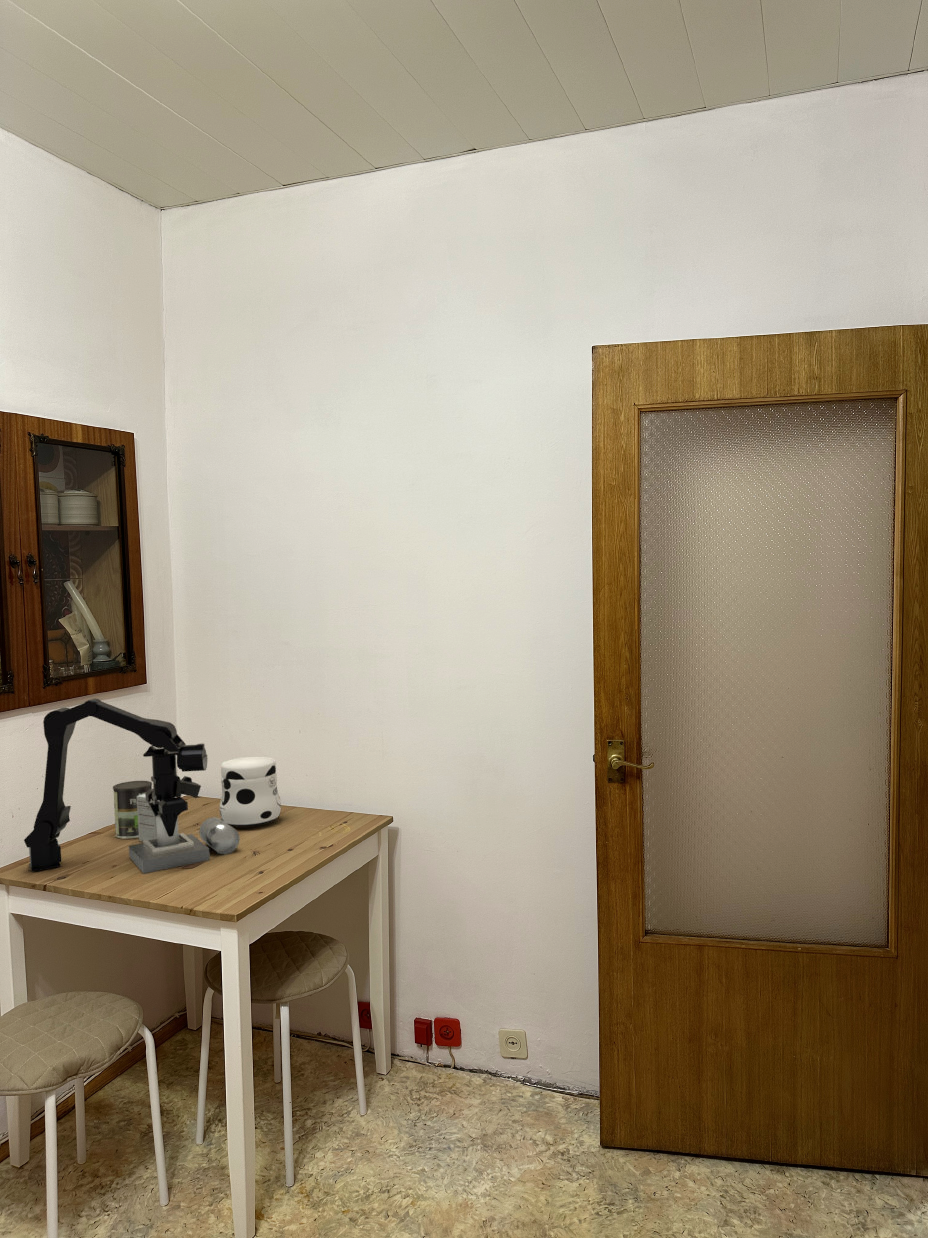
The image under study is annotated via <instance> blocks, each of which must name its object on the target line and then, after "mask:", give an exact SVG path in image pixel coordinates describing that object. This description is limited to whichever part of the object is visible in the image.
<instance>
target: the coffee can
mask: <svg viewBox="0 0 928 1238" xmlns="http://www.w3.org/2000/svg"><path fill="white" fill-rule="evenodd" d="M152 785H153V781H149V780H132V781H131V780H130V781H125V782H120V783H117V784H115V785H113V786H112V790H113V803H114V804H113V805H114V827H115V829H114V830H115V838H118V839H121V840H122V839H123V840H128V839H130V840H131V839H139V830H138V812H137V796H139V795H143V794H145V793H146V792H147V791H148V790H149V789H153V788H152V787H153V786H152Z"/></svg>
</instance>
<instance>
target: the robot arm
mask: <svg viewBox="0 0 928 1238" xmlns="http://www.w3.org/2000/svg"><path fill="white" fill-rule="evenodd" d="M89 717H93V718H95V719H98V720H100V721H102V722H105V723H108V724H111V725H113V726H116V727H118V728H120V729H123V730H126V731H129V732H131V733H133V734H135V735H137V736H138V737H139V738H140V739H142V740H143V741H144V742H146V743H147V744H149V745H150V746H149V747H148V748H147V750H146V751H145V752H144V753H143V754H142V756H143V757H145V758H147V757H149V758H150V757H151V762H152V764H151V765H152V776H150V780H151V781H150V782H152V785H153V786H152V787H153V788H152V789H149V790H148V791H147V792H146V793H145V797H146V801H147V802H150V801H151V799H152V803H149V806H150V808H151V810H152V812H153V814H154V816H155V818H156V816H158V815H159V816H160V818H161V821H162V823H163V825H164V827H165V830H166V832H167V834H168V836H169V837H171V836H173V834H174V830H175V826H176V821H177V818H178V819H179V815H181V814H182V813H184V812H186V811H188V810H189V804H188V801H187V800H185V799H183V798H182V795H185V796H189V797H192V798H194V799H195V798H196V799H197V798H198V797H199V794H200V791H201V787H202V786H201V784H199V783H196V782H193V779H192V777H190V776H186V775H184V776H183V777H182V778H180V776H179V775H177V768H178V769H179V770H181V772H185V773H186V772H200V771H201V772H202V771H206V770H207V768H208V754H207V751H206V748H205V743H204V742H203V743H197V744H186V743H185V741H184V740H183V739H182V738H181V736H179V734H178V732H177V728H176V725H174V724H173V723H172V722H169V721H164V720H160V719H152V718H146V717H142V716H139V715H138V714H135V713H132V712H130V711H127V710H124V709H121V708H119V707H117V706H114V705H111V704H110V703H107V702H104V701H103V700H101V699H99V698H92V699H88V700H86V701H84V702H83V703H81V704H79V705H76V706H73V707H71V708H70V707H60V708H57V709H55V710H52V711H49V712H48V713H47V714H45V716H44V718H43V722H42V723H43V724H42V725H43V733H44V738H45V740H46V743H47V753H46V764H45V765H46V766H45V776H44V784H43V785H44V788H43V797H42V803H41V805H40V807H39V810H38V811H37V814H36V817H35V821H34V824H33V830H32V831H31V832H29V834H28V835H27V836H26V837H25V838H24V839H23V841H24V844H25V846H26V848H28V849H29V850H28V852H29V854H28V855H29V863H28V867H29V869H30V871H31V872H32V873H33V872H39V871H43V870H49V869H54V868H59V867H61V862H62V849H61V848H62V847H61V844H59V841H58V839H57V838H59V837H60V835H61V832H62V831H63V830H64V829H65V828H66V826H67V824H68V823H69V822H70V821H71V820H70V812H71V809H72V808H71V805H65V802H64V790H65V789H64V788H65V778H66V768H67V757H68V745H69V743H70V741H71V738H72V736H73V734H74V732H75V727H76V724H77V722H79V721H81V720H84V719H86V718H89Z"/></svg>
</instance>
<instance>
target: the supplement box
mask: <svg viewBox="0 0 928 1238" xmlns="http://www.w3.org/2000/svg"><path fill="white" fill-rule="evenodd" d="M149 803H152V799H151V801H150V802H147V801H146V797H145V794H143V795H139V796H137V812H138V830H139V838H138V841H139V842H142V841H143V840H148V839H153V838H157V826H156V818H155V816H154V814H153V812H152V810H151V808H150V806H149Z"/></svg>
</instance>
